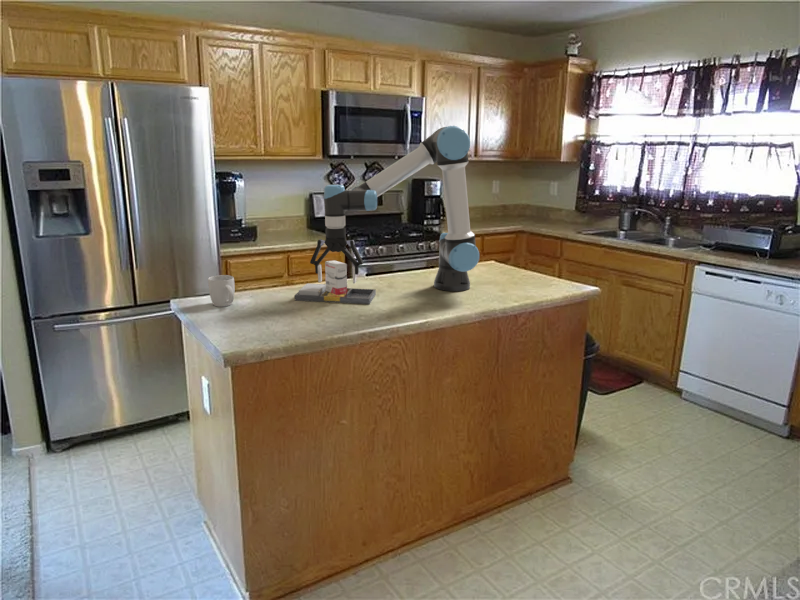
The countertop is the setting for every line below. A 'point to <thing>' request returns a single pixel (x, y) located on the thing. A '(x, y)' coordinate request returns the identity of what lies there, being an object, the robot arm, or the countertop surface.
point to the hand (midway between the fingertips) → (337, 282)
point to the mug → (221, 290)
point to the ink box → (336, 277)
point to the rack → (341, 296)
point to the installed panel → (312, 289)
